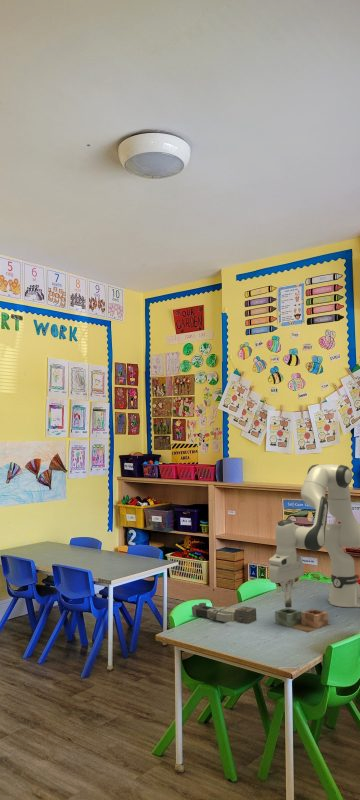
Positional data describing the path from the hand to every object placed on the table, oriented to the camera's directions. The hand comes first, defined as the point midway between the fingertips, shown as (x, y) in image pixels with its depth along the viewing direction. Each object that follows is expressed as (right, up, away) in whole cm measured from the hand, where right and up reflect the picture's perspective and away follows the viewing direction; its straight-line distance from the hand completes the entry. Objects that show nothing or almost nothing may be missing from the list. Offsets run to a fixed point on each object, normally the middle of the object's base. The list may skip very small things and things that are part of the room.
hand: (287, 589), depth 250 cm
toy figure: (-27, -18, +10) cm, 34 cm away
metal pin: (0, -7, -1) cm, 7 cm away
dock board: (+6, -15, -3) cm, 17 cm away
